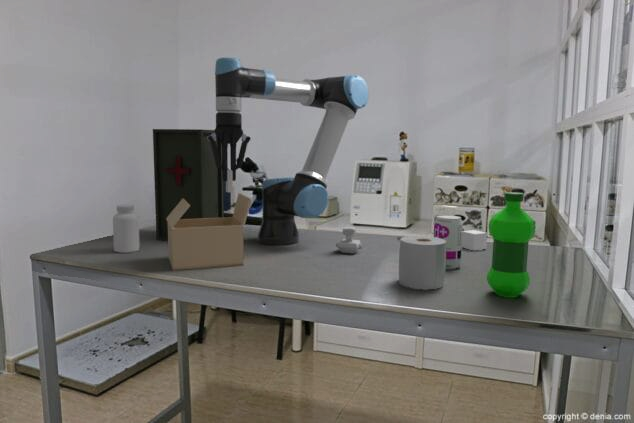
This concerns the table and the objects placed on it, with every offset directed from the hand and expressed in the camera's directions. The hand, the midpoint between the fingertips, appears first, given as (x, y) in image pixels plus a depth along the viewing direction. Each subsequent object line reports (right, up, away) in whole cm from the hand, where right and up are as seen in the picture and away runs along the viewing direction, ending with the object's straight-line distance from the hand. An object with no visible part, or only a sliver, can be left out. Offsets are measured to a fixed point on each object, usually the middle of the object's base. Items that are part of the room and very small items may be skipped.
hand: (229, 191), depth 152 cm
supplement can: (+65, -23, -2) cm, 69 cm away
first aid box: (-21, -16, +39) cm, 47 cm away
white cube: (+81, -19, +24) cm, 87 cm away
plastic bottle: (+73, -27, -28) cm, 83 cm away
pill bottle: (-36, -19, +14) cm, 43 cm away
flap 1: (-14, -6, -4) cm, 16 cm away
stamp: (+37, -20, +15) cm, 45 cm away
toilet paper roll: (+54, -25, -20) cm, 63 cm away
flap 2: (+3, -5, +2) cm, 6 cm away
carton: (-7, -21, 0) cm, 22 cm away
